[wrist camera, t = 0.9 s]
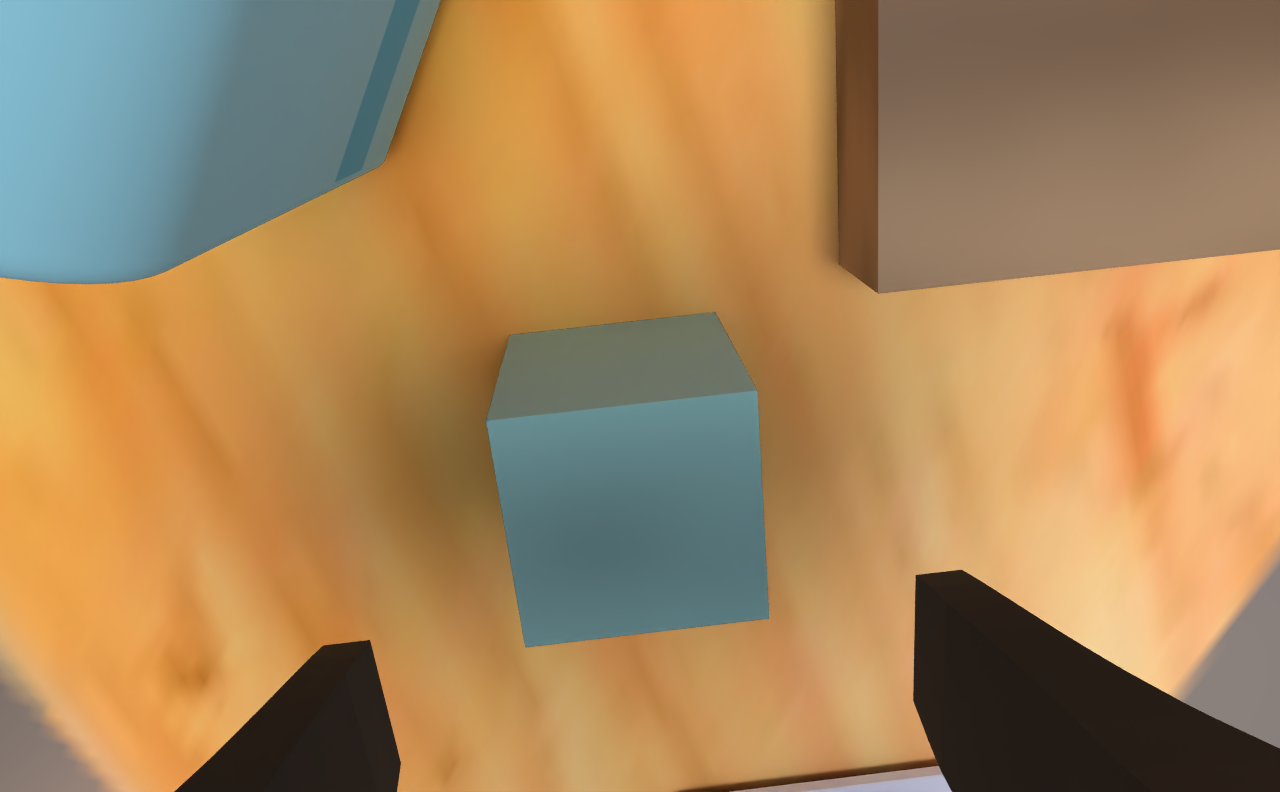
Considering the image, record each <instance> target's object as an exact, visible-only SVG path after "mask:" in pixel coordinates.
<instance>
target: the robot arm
mask: <svg viewBox="0 0 1280 792" xmlns="http://www.w3.org/2000/svg"><path fill="white" fill-rule="evenodd" d="M913 701H914V704H915V706H916V709H917V711H918V714H919V717H920V719H921V722H922V725H923V727H924V730H925V733H926V735H927V738H928V741H929V743H930V745H931V748H932V750H933V753H934V755H935V758H936V760H937V763H938V765H939V766H933V767H925V768H917V769H909V770H901V771H893V772H885V773H877V774H869V775H861V776H852V777H844V778H836V779H828V780H820V781H812V782H804V783H796V784H788V785H780V786H772V787H764V788H755V789H747V790H739V791H731V792H1280V748H1277V747H1275V746H1273V745H1271V744H1269V743H1266V742H1264V741H1262V740H1260V739H1258V738H1256V737H1254V736H1251V735H1249V734H1247V733H1245V732H1243V731H1241V730H1239V729H1237V728H1234V727H1232V726H1230V725H1228V724H1226V723H1224V722H1222V721H1219V720H1217V719H1215V718H1213V717H1211V716H1209V715H1207V714H1205V713H1203V712H1201V711H1199V710H1197V709H1195V708H1193V707H1191V706H1189V705H1187V704H1185V703H1183V702H1181V701H1180V700H1178V699H1176V698H1174V697H1172V696H1170V695H1169V694H1167V693H1165V692H1163V691H1161V690H1159V689H1158V688H1156V687H1154V686H1152V685H1150V684H1148V683H1147V682H1145V681H1143V680H1141V679H1139V678H1137V677H1136V676H1134V675H1132V674H1130V673H1128V672H1127V671H1125V670H1123V669H1122V668H1120V667H1118V666H1116V665H1115V664H1113V663H1111V662H1109V661H1108V660H1106V659H1104V658H1103V657H1101V656H1099V655H1098V654H1096V653H1094V652H1093V651H1091V650H1089V649H1088V648H1086V647H1084V646H1083V645H1081V644H1079V643H1078V642H1076V641H1074V640H1073V639H1071V638H1070V637H1068V636H1066V635H1065V634H1063V633H1062V632H1060V631H1058V630H1057V629H1055V628H1054V627H1052V626H1050V625H1049V624H1047V623H1046V622H1044V621H1042V620H1041V619H1039V618H1038V617H1036V616H1035V615H1033V614H1032V613H1030V612H1028V611H1027V610H1025V609H1024V608H1022V607H1021V606H1019V605H1017V604H1016V603H1014V602H1013V601H1011V600H1010V599H1008V598H1007V597H1005V596H1003V595H1002V594H1000V593H999V592H997V591H996V590H994V589H992V588H991V587H989V586H988V585H986V584H985V583H983V582H981V581H980V580H978V579H976V578H975V577H973V576H971V575H970V574H968V573H966V572H964V571H963V570H956V571H947V572H939V573H930V574H922V575H916V590H915V641H914V693H913ZM400 765H401V762H400V758H399V754H398V750H397V746H396V742H395V738H394V734H393V730H392V726H391V722H390V718H389V714H388V710H387V706H386V702H385V698H384V694H383V690H382V686H381V682H380V678H379V674H378V670H377V666H376V662H375V658H374V654H373V650H372V646H371V642H370V640H367V641H358V642H350V643H342V644H333V645H325V646H322V647H321V648H320V649H319V650H318V651H317V652H316V653H315V654H314V655H313V656H312V657H311V658H310V659H309V660H308V661H307V662H306V663H305V664H304V665H303V666H302V667H301V668H300V669H299V670H298V671H297V672H296V673H295V674H294V675H293V676H292V677H291V678H290V679H289V680H288V681H287V682H286V683H285V684H284V685H283V686H282V687H281V688H280V689H279V690H278V691H277V692H276V693H275V694H274V695H273V696H272V697H271V698H270V699H269V700H268V701H267V702H266V703H265V705H264V706H263V707H262V708H261V709H260V710H259V711H258V712H257V713H256V714H255V715H254V716H253V717H252V718H251V719H250V720H249V721H248V722H247V723H246V724H245V725H244V726H243V727H242V728H241V729H240V730H239V731H238V732H237V733H236V734H235V735H234V736H233V737H232V738H231V739H230V740H229V741H228V742H227V743H226V744H225V745H224V746H223V747H222V748H221V749H220V750H219V751H218V752H217V753H216V754H215V755H214V756H213V757H211V758H210V759H209V760H208V761H207V762H206V763H205V764H204V765H203V766H202V767H201V768H200V769H199V770H197V771H196V772H195V773H194V774H193V775H192V776H191V777H190V778H189V779H188V780H187V781H186V782H184V783H183V784H182V785H181V786H180V787H179V788H178V789H177V790H176V791H175V792H397V787H398V780H399V773H400Z"/></svg>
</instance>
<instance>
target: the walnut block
mask: <svg viewBox="0 0 1280 792" xmlns="http://www.w3.org/2000/svg"><path fill="white" fill-rule="evenodd" d="M835 17H836V87H837V158H838V229H839V265H841V266H842V267H843V268H845V269H846V270H847V271H849V272H850V273H851V274H853V275H854V276H855V277H857V278H858V279H859V280H861V281H862V282H863V283H865V284H866V285H867V286H869V287H870V288H871V289H873V290H874V291H875V292H877V293H878V294H879V293H888V292H897V291H906V290H915V289H924V288H933V287H942V286H952V285H961V284H970V283H979V282H988V281H997V280H1006V279H1015V278H1024V277H1033V276H1042V275H1051V274H1061V273H1070V272H1079V271H1088V270H1097V269H1106V268H1115V267H1124V266H1133V265H1142V264H1151V263H1160V262H1170V261H1179V260H1188V259H1197V258H1206V257H1215V256H1224V255H1233V254H1242V253H1251V252H1260V251H1269V250H1279V249H1280V0H835Z"/></svg>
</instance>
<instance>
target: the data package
mask: <svg viewBox="0 0 1280 792" xmlns="http://www.w3.org/2000/svg"><path fill="white" fill-rule="evenodd" d="M440 1H441V0H0V277H3V278H11V279H19V280H27V281H36V282H49V283H63V284H107V283H119V282H127V281H135V280H139V279H144V278H148V277H152V276H155V275H158V274H160V273H163V272H165V271H168V270H170V269H172V268H174V267H176V266H178V265H180V264H182V263H184V262H186V261H188V260H190V259H192V258H194V257H196V256H198V255H200V254H202V253H204V252H206V251H208V250H210V249H212V248H215V247H217V246H219V245H221V244H223V243H225V242H227V241H229V240H231V239H233V238H235V237H237V236H239V235H241V234H243V233H245V232H247V231H249V230H251V229H253V228H255V227H257V226H259V225H261V224H263V223H265V222H267V221H269V220H271V219H274V218H276V217H278V216H280V215H282V214H284V213H286V212H288V211H290V210H292V209H294V208H296V207H298V206H300V205H302V204H304V203H306V202H308V201H310V200H312V199H314V198H316V197H318V196H320V195H322V194H324V193H326V192H328V191H330V190H333V189H335V188H337V187H339V186H341V185H343V184H345V183H347V182H349V181H351V180H353V179H355V178H357V177H359V176H361V175H363V174H365V173H367V172H369V171H371V170H373V169H375V168H377V167H379V166H380V165H381V164H382V163H383V162H384V161H385V158H386V156H387V153H388V150H389V147H390V144H391V141H392V139H393V136H394V133H395V130H396V127H397V124H398V121H399V119H400V116H401V113H402V110H403V107H404V104H405V101H406V99H407V96H408V93H409V90H410V87H411V84H412V81H413V79H414V76H415V73H416V70H417V67H418V64H419V61H420V59H421V56H422V53H423V50H424V47H425V44H426V41H427V39H428V36H429V33H430V30H431V27H432V24H433V21H434V19H435V16H436V13H437V10H438V7H439V4H440Z"/></svg>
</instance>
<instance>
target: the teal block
mask: <svg viewBox="0 0 1280 792" xmlns="http://www.w3.org/2000/svg"><path fill="white" fill-rule="evenodd" d="M486 424H487V430H488V435H489V441H490V447H491V453H492V458H493V464H494V470H495V476H496V481H497V487H498V493H499V499H500V505H501V510H502V516H503V522H504V528H505V533H506V539H507V545H508V551H509V556H510V562H511V568H512V574H513V580H514V585H515V591H516V597H517V603H518V608H519V614H520V620H521V626H522V631H523V637H524V643H525V647H533V646H542V645H550V644H559V643H567V642H575V641H584V640H592V639H601V638H609V637H618V636H626V635H634V634H643V633H651V632H660V631H668V630H677V629H685V628H693V627H702V626H710V625H719V624H727V623H736V622H744V621H752V620H761V619H769V604H768V585H767V566H766V547H765V528H764V509H763V490H762V471H761V452H760V432H759V413H758V394H757V389H756V387H755V385H754V383H753V381H752V380H751V378H750V376H749V374H748V372H747V370H746V368H745V367H744V365H743V363H742V361H741V359H740V357H739V355H738V354H737V352H736V350H735V348H734V346H733V344H732V342H731V341H730V339H729V337H728V335H727V333H726V331H725V329H724V328H723V326H722V324H721V322H720V320H719V318H718V316H717V315H716V313H715V312H712V313H703V314H694V315H685V316H676V317H667V318H658V319H649V320H640V321H631V322H622V323H613V324H603V325H594V326H585V327H576V328H567V329H558V330H549V331H540V332H531V333H522V334H513V335H510V336H509V339H508V343H507V346H506V350H505V354H504V357H503V361H502V365H501V368H500V372H499V376H498V379H497V383H496V386H495V390H494V394H493V397H492V401H491V405H490V408H489V412H488V416H487V419H486Z"/></svg>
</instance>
